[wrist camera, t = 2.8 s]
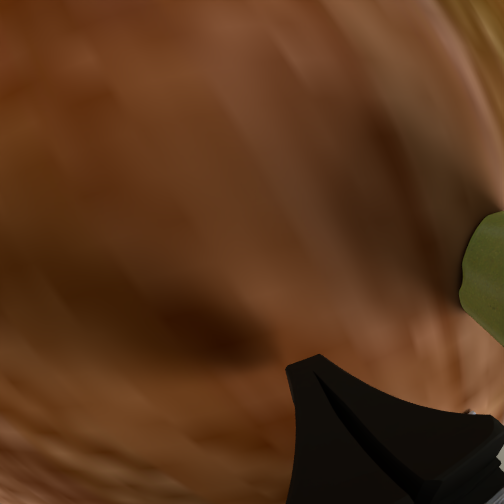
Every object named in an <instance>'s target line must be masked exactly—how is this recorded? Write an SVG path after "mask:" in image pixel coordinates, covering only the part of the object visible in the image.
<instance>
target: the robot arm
mask: <svg viewBox="0 0 504 504" xmlns="http://www.w3.org/2000/svg"><path fill="white" fill-rule="evenodd" d="M285 370H286V375H287V379H288V383H289V387H290V391H291V395H292V399H293V403H294V405H295V416H296V442H295V455H294V464H293V471H292V478H291V482H290V487H289V492H288V497H287V501H286V504H504V472H503V471H502V470H501V469H500V468H499V466H500V465H501V461H500V460H498V458H497V457H496V456H497V455H498V453H499V451H500V450H501V448H502V447H503V445H504V426H503V425H502V424H501V423H500V422H499V421H498V420H497V419H495V418H494V417H493V416H492V415H482V414H475V412H474V411H471V412H469V413H468V414H462V413H454V412H447V411H441V410H437V409H432V408H428V407H424V406H419V405H416V404H413V403H410V402H407V401H404V400H401V399H399V398H396V397H394V396H391V395H389V394H386V393H384V392H382V391H380V390H378V389H376V388H374V387H372V386H370V385H368V384H366V383H364V382H363V381H361V380H359V379H357V378H356V377H354V376H352V375H351V374H349V373H347V372H346V371H344V370H343V369H341V368H340V367H338V366H337V365H335V364H334V363H332V362H331V361H330V360H328V359H327V358H325V357H324V356H323V355H321V354H318V355H315V356H312V357H310V358H307V359H304V360H302V361H299V362H296V363H293V364H291V365H288V366H287V367H286V368H285Z"/></svg>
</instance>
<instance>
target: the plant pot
mask: <svg viewBox="0 0 504 504" xmlns="http://www.w3.org/2000/svg"><path fill="white" fill-rule="evenodd" d="M462 269H463V282H462V286H461V288H460V290H459V298H460V302H461V305H462V307H463V309H464V310H465V312H466V313H468V314H469V315H470V316H471V317H472V318H473V319H474V320H475V321H476V322H477V323H478V324H480V325H481V326H482V327H483V328H484V329H485V330H486V331H487V332H488V333H489V334H490V335H492V336H493V337H494V338H495V339H496V340H497V341H498V342H499V343H500V344H501V345H502V346H503V347H504V211H501V212H497V213H494V214H491V215H488V216H487V217H485V218H484V219H483V221H482V222H481V223H480V224H479V226H478V227H477V229H476V230H475V232H474V234H473V236H472V238H471V240H470V242H469V244H468V247H467V249H466V252H465V255H464V258H463V262H462Z"/></svg>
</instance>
